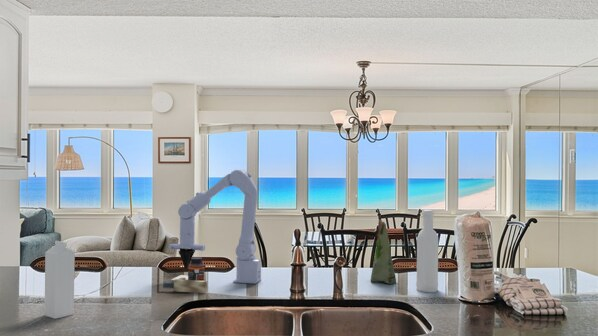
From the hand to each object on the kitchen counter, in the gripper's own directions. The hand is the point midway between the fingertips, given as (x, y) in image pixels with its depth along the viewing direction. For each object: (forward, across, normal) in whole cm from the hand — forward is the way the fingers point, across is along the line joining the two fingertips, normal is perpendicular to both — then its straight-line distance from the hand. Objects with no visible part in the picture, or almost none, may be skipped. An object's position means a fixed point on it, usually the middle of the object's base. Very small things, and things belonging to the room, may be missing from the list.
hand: (186, 267), depth 208 cm
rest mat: (+4, 0, 0) cm, 4 cm away
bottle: (+5, +94, +5) cm, 94 cm away
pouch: (+5, +77, +15) cm, 79 cm away
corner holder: (+4, +10, -18) cm, 21 cm away
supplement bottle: (+5, +10, -14) cm, 18 cm away
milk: (+5, -16, -57) cm, 59 cm away
